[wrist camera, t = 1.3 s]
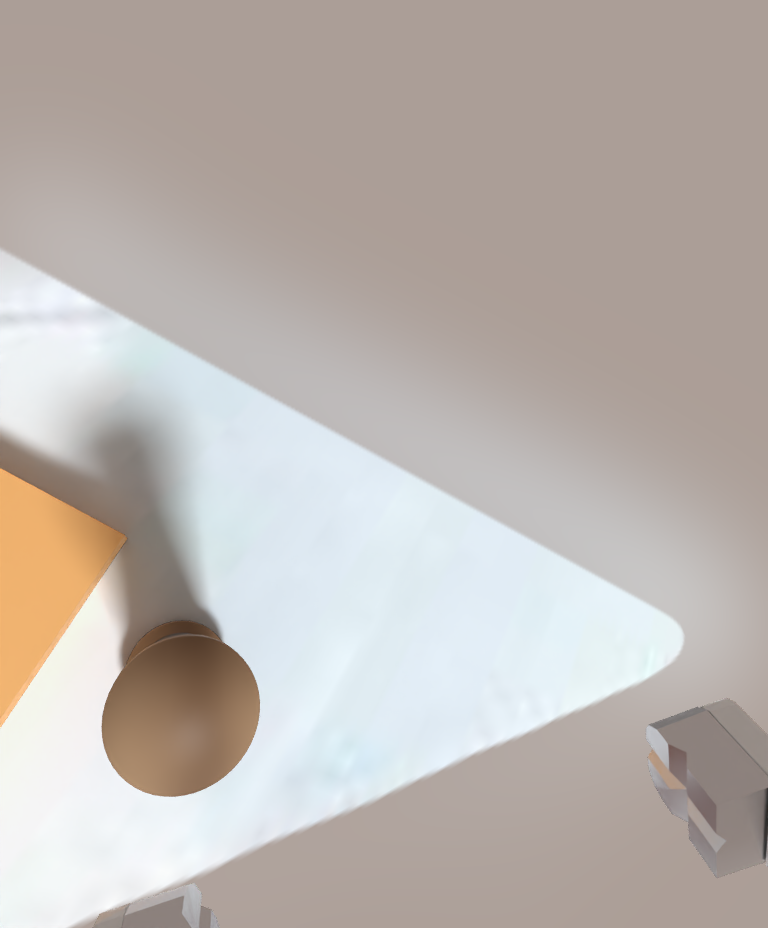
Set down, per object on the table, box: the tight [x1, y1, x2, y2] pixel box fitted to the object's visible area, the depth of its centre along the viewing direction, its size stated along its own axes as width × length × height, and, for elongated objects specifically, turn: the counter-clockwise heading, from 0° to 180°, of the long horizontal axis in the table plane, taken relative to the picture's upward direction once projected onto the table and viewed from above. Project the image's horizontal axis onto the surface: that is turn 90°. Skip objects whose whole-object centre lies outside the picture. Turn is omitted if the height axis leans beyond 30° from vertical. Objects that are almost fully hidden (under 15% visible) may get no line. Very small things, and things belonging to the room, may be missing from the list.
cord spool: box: [102, 621, 260, 797], centre depth 32 cm, size 6×6×15 cm
